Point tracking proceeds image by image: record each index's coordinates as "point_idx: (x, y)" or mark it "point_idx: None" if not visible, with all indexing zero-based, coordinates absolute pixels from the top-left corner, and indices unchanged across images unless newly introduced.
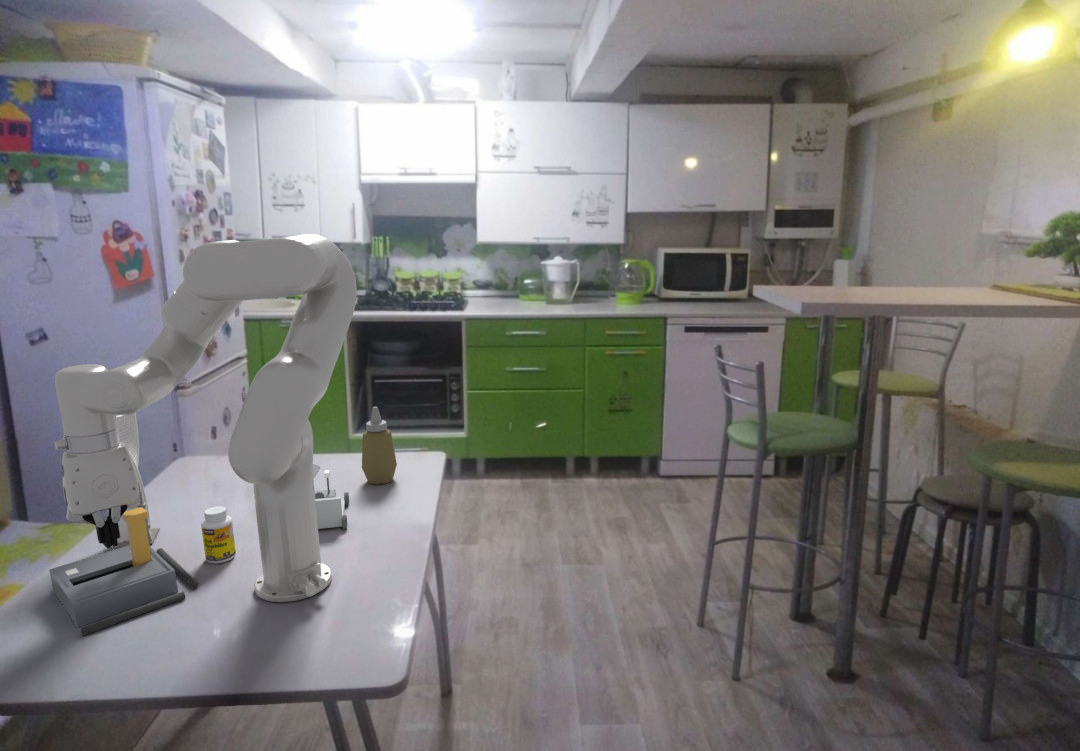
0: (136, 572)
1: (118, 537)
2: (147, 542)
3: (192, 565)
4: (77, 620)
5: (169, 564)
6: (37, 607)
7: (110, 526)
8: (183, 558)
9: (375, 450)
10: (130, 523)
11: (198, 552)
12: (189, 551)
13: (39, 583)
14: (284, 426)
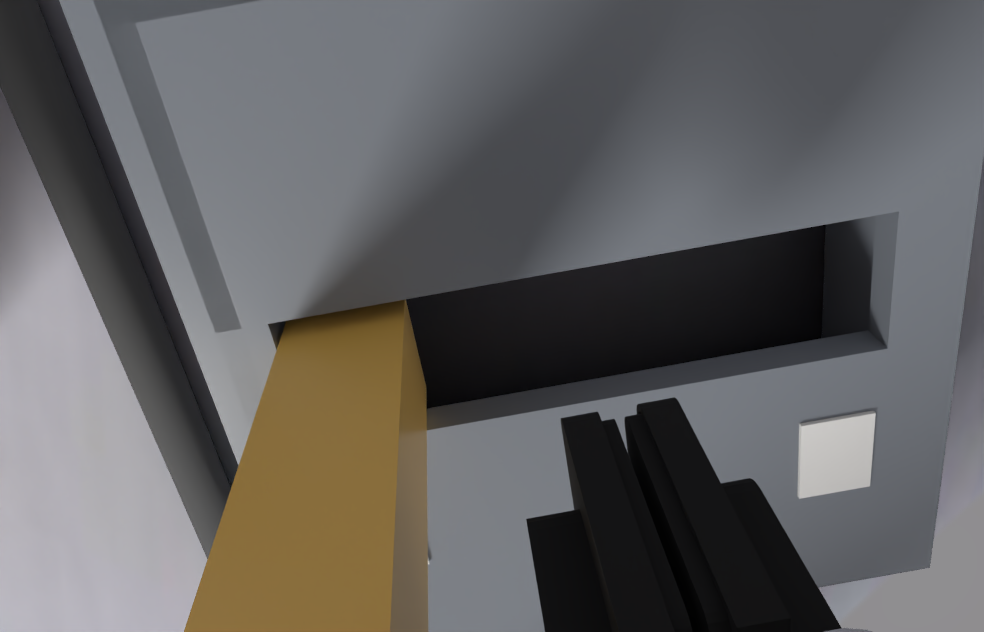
0: (415, 161)
1: (545, 519)
2: (255, 444)
3: (42, 348)
4: None
5: (191, 404)
6: (974, 313)
7: (682, 622)
8: (112, 478)
9: None
10: None
11: (13, 510)
12: (76, 550)
13: (876, 578)
14: None
